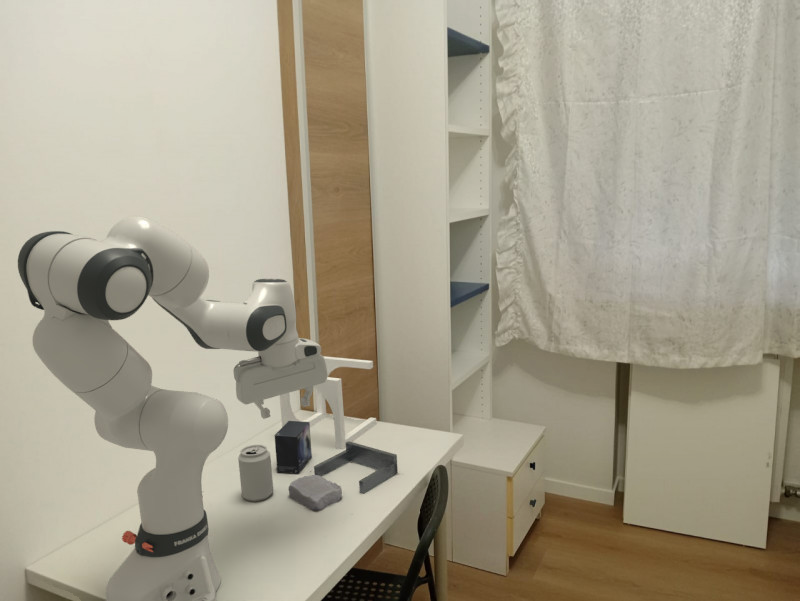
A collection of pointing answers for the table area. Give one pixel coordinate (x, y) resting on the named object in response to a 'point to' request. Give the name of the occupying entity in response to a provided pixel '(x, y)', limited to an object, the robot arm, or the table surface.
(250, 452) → the can
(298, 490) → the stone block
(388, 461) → the grey u-shaped bracket
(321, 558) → the table surface
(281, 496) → the table surface
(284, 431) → the small box
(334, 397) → the white open frame
